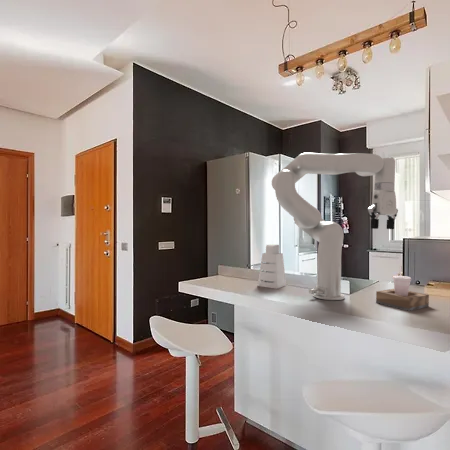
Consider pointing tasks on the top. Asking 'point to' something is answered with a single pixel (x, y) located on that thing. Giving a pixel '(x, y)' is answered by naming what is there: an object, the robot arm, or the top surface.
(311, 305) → the top surface
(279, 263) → the grater
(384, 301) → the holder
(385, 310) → the top surface
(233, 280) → the top surface
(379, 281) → the top surface
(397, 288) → the smoothie
